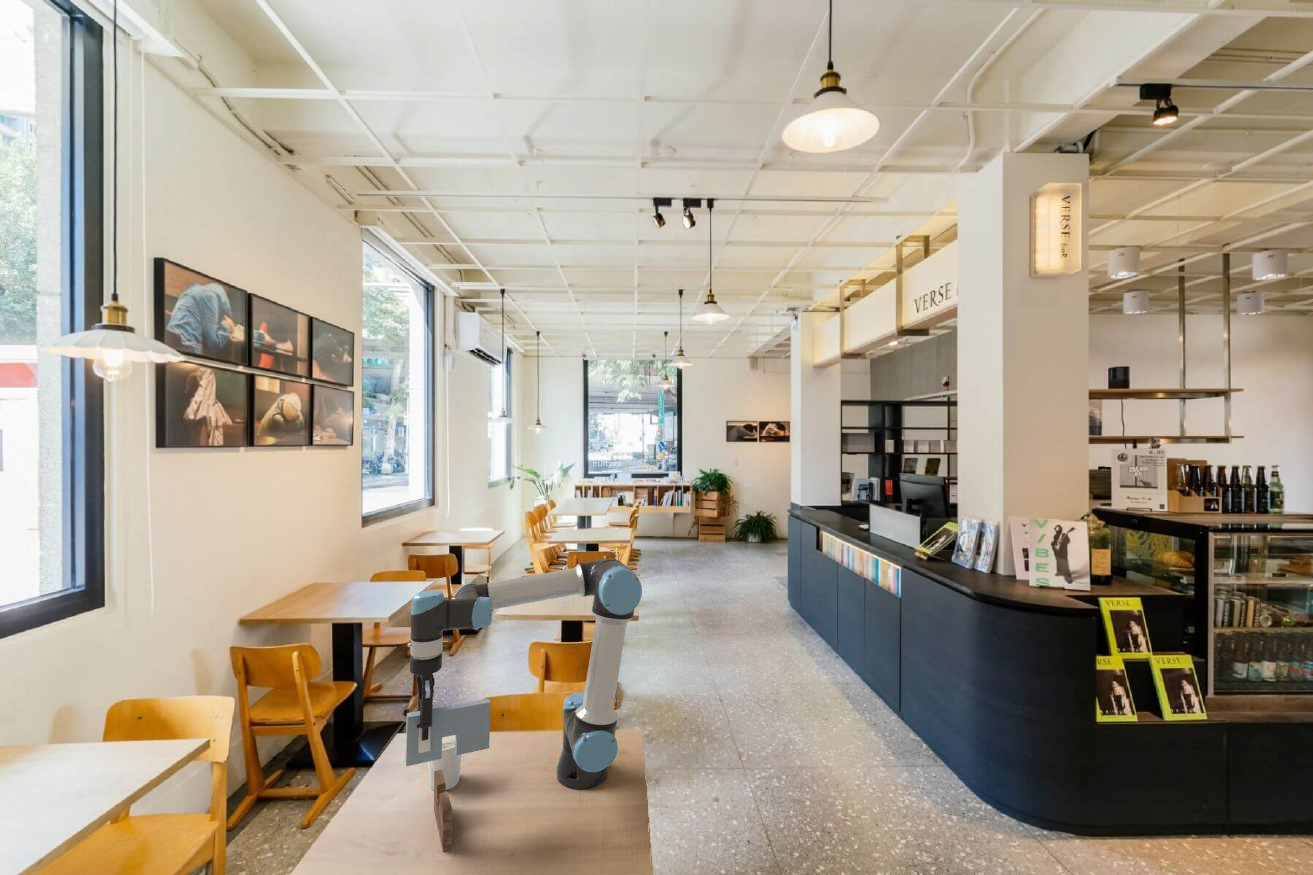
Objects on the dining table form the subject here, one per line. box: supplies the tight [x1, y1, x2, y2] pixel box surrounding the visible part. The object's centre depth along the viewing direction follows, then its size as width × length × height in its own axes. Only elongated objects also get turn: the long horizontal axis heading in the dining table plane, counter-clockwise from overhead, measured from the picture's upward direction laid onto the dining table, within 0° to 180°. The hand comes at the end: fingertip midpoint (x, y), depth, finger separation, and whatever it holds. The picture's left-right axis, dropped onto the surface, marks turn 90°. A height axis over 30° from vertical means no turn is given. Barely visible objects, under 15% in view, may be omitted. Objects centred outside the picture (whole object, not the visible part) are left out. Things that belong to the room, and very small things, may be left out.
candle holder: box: [427, 735, 462, 791], centre depth 164 cm, size 10×10×12 cm
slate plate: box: [405, 698, 491, 767], centre depth 146 cm, size 20×2×12 cm, turn 117°
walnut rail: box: [433, 769, 453, 852], centre depth 145 cm, size 2×18×10 cm, turn 27°
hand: (423, 748), depth 143 cm, fingers closed on slate plate, 2 cm apart
